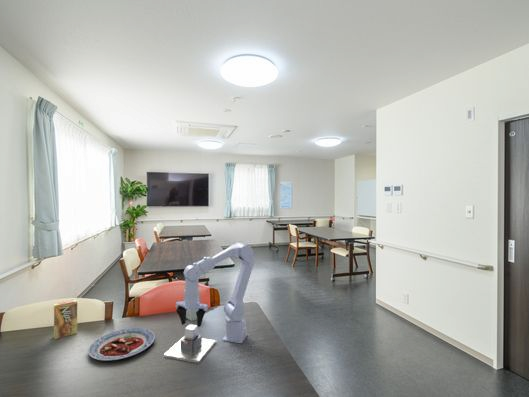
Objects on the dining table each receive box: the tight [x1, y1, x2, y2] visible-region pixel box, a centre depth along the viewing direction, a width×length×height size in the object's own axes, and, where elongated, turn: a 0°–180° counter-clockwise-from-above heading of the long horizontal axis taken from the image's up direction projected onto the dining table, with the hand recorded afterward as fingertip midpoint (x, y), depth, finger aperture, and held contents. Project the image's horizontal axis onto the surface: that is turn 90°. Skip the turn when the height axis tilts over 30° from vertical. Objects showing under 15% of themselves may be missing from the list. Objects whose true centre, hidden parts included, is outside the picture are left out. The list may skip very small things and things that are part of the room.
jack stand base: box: [163, 333, 217, 364], centre depth 116 cm, size 16×16×5 cm
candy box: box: [53, 299, 78, 340], centre depth 128 cm, size 9×4×15 cm, turn 129°
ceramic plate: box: [87, 327, 156, 361], centre depth 118 cm, size 26×26×3 cm
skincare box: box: [183, 289, 201, 321], centre depth 147 cm, size 8×6×15 cm
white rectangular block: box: [184, 324, 199, 341], centre depth 116 cm, size 4×4×8 cm
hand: (191, 325), depth 116 cm, fingers open, 7 cm apart
